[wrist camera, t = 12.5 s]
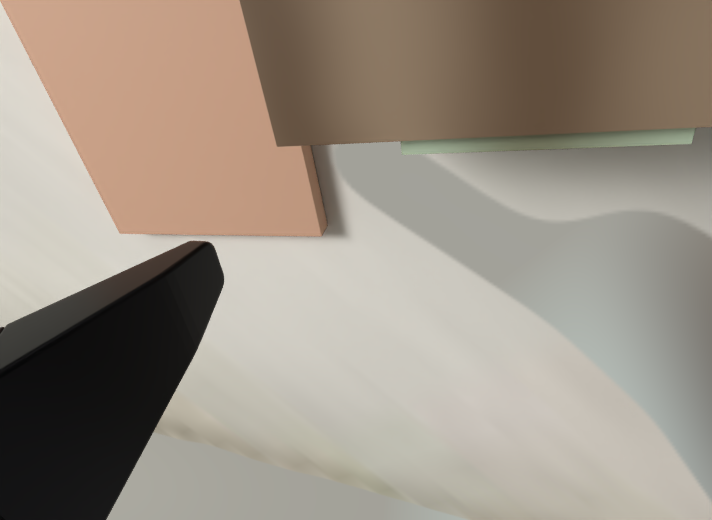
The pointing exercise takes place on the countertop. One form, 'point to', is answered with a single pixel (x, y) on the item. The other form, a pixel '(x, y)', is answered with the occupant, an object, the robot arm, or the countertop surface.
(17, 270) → the countertop surface
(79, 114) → the green and salmon panel
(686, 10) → the brown wooden block
